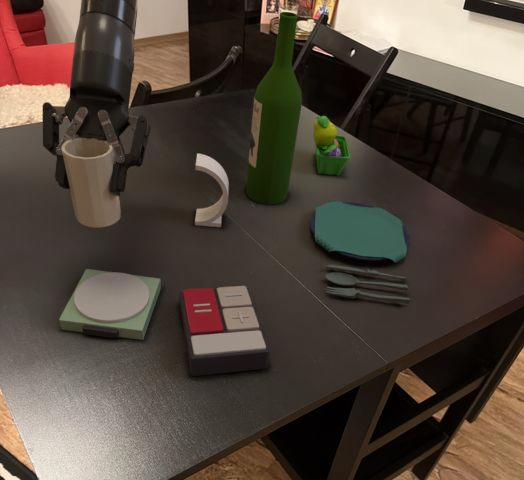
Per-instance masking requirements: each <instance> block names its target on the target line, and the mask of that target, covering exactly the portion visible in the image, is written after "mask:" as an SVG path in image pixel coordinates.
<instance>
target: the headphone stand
mask: <svg viewBox="0 0 524 480" xmlns="http://www.w3.org/2000/svg"><path fill="white" fill-rule="evenodd" d="M194 166H195V171H200V172H203V173H205V174H207V175H209V176H211V177H212V178H213V179H214V180H216V182H217V183H218V185H219V186H220V188H221V192H222V195H221V196H220V198H219V200H218V201H216V203H214V204H213V205H210V206H208V207H203V208H196V211H195V219H194V226H200V227H201V226H202V227H213V228H215V227H216V228H222V218H223V217H222V216H223V215H224V213H225V211H226V209H227V207H228V203H229V192H230V191H229V190H230V184H229V182H230V181H229V177H228V175H227V172H226V170H225V169H224V167H223V166H222V165H221V164H220V163H219V162H218V161H217V160H216V159H214V158H213V157H211V156H208V155H206V154H203V153H198V152H197V153H196V160H195V165H194Z"/></svg>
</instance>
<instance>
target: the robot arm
mask: <svg viewBox="0 0 524 480" xmlns="http://www.w3.org/2000/svg"><path fill="white" fill-rule="evenodd" d="M137 18H138V0H81V1H80V10H79V20H78V25H77V29H76V33H75V38H74V45H73V46H74V47H73V55H72V64H71V73H70V83H69V98H68V99H67V102H66V103H65V104H64V106H62V105H52V104H51V103H50V102H49V101H45V102H44V103H43V104H42V146H43V148H45V149H46V150H47V151H48V152H49V153H50V154H51V155H53V156H55V157H56V162H55V163H56V164H55V170H54V171H55V172H54V178H55V181H56V182H57V183H58V186H59V187H60V188H62V189H64V190H70V187H69V182H68V177H67V172H66V167H65V163H64V158H63V153H62V145H63V144H64V143H65V142H66V141H68V140H73V139H75V138H77V137H83V138H87V139H92V138H95V139H97V140H104V141H105V140H107V141H108V142H109V145H110V146H111V145H112V148H113V154H114V161H115V164H113V171H112V180H111V193H112V194H113V195H114V196H119V197H120V196H121V193H124V192H125V190H126V185H127V175H128V170H129V168H132V167H137V168H138V167H139V168H140V167H141V166H142V165H143V164H144V159H145V155H146V150H147V146H148V142H149V137H150V133H151V129H152V128H151V124H150V123H149V120H148V119H147V116H145V115H139V116H134V115H131V114H130V111H129V109H130V108H129V107H130V99H131V91H132V80H133V73H134V69H135V36H136V28H137ZM65 118H67V119H68V121H69V125H68V126H67V128H66V129H65V131H64V132H63V138H62V140H61V141H60V125H62V124H63V122H64V119H65ZM130 126H131V128H130V129H131V131H132V134H133V138H132V142H131V145H130V146H131V147H130V151H129V152H128V153H126V152H125V151H126V150H125V148H124V146H123V145H124V144H123V143H122V140H121V137H120V136H121V135H122V134H124V132H125V131H126V130H128V128H129V127H130Z"/></svg>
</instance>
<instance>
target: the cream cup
mask: <svg viewBox="0 0 524 480" xmlns="http://www.w3.org/2000/svg"><path fill="white" fill-rule="evenodd" d="M62 153H63V158H64V163H65V167H66V172H67V177H68V182H69V187H70V188H69V191H70V195H71V201H72V206H73V211H74V216H75V219H76V221H77V222H78V223H79V224H81V225H83V226H84V227H85V226H86V227H89V228H95V229H96V228H99V229H100V228H106V227H110V226H112V225H114V224H116V223H117V222H118V221H120V219H121V217H122V213H121V212H122V211H121V203H120V196H114V195H113V194H112V193H111V180H112V171H113V164H116V161H115V157H114V154H113V148H112V145H111V146H110V145H109V142H108V141H107V140H105V141H104V140H97V139H95V138H92V139H87V138H83V137H77V138H75V139H73V140H68V141H66V142H65V143H64V144H63V145H62Z"/></svg>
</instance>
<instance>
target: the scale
mask: <svg viewBox="0 0 524 480" xmlns="http://www.w3.org/2000/svg"><path fill="white" fill-rule="evenodd" d="M161 290H162V281H161V278H157V277H150V276H141V275H136V274H135V275H134V274H129V273H126V272H117V271H116V272H115V271H114V272H112V271H104V270H98V269H89V268H86V269H85V270H84V272H83V274H82V276H81V278H80V280H79V281H78V283H77V285H76V287H75V289H74V291H73V292H72V294H71V296H70V298H69V299H68V302H67V304H66V306H65V308H64V309H63V311H62V313H61V315H60V317H59V319H58V322H59V325H60V328H61V330H62V331H69V332H70V331H71V332H78V333H83V334H84V335H89V336H97V337H104V338H112V339H118V338H124V339H133V340H139V341H144V339H145V337H146V333H147V331H148V327H149V325H150V321H151V319H152V316H153V314H154V310H155V307H156V304H157V301H158V298H159V295H160V293H161Z"/></svg>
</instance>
